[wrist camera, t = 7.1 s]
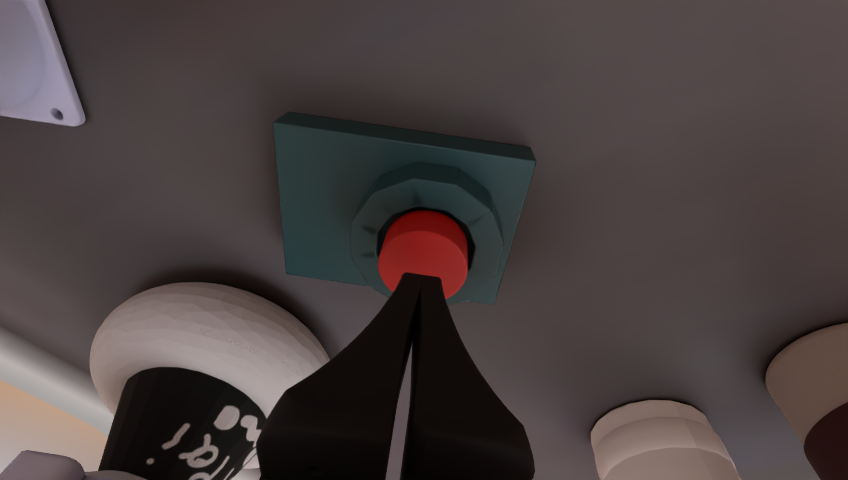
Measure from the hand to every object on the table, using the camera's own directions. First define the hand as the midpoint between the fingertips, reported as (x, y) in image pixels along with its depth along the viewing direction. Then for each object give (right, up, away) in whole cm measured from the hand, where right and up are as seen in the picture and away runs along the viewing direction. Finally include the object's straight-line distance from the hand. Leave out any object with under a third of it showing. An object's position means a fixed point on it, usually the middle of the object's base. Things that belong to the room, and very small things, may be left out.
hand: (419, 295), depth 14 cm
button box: (-1, +4, +5) cm, 7 cm away
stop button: (0, +2, +3) cm, 3 cm away
